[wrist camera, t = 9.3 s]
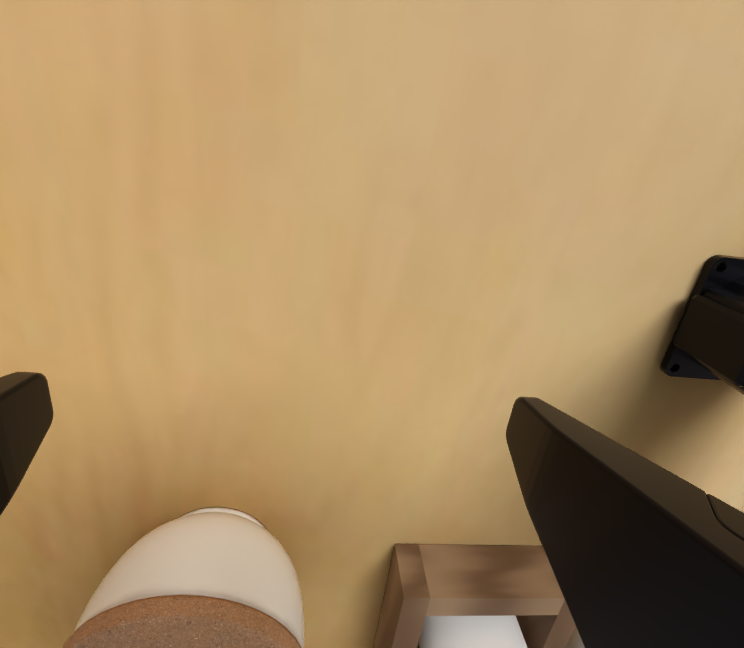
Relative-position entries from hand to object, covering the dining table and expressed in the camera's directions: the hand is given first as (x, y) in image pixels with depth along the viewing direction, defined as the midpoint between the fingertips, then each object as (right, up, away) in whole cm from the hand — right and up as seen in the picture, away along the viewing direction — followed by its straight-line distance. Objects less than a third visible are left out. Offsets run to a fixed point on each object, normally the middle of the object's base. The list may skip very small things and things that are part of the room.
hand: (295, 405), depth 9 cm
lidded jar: (-8, -11, +18) cm, 23 cm away
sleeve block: (+8, -17, +22) cm, 29 cm away
